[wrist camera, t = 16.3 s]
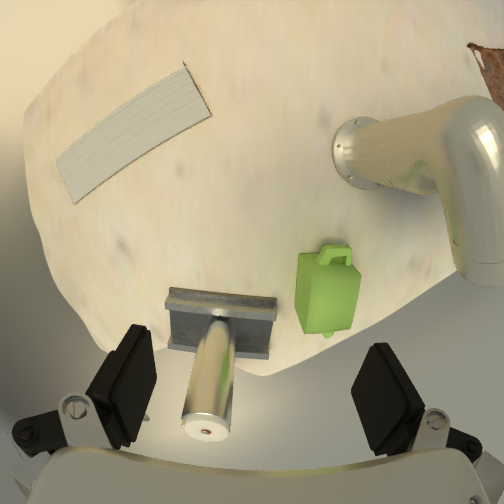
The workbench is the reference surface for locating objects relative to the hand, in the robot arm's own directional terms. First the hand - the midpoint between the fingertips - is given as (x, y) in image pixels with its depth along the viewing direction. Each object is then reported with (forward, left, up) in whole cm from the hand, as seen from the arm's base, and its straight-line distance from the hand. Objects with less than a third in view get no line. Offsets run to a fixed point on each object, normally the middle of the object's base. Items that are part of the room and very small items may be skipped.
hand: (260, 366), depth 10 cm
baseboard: (+24, -12, -37) cm, 46 cm away
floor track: (+4, +23, -36) cm, 43 cm away
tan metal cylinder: (+4, +23, -36) cm, 42 cm away
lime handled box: (-14, +13, -37) cm, 41 cm away
